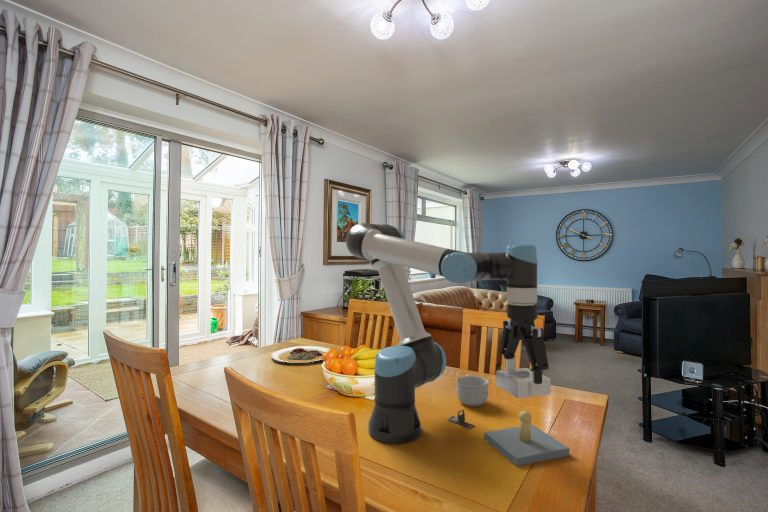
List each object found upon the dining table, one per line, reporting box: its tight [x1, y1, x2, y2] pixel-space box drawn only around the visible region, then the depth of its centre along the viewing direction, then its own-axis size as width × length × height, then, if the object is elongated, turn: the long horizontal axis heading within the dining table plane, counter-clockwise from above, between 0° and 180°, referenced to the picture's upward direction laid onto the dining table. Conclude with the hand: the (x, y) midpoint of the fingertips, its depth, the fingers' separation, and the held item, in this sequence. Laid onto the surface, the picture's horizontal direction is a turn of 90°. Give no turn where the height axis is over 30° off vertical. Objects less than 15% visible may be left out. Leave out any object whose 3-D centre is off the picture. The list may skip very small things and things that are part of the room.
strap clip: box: [447, 409, 476, 430], centre depth 116 cm, size 8×3×4 cm, turn 42°
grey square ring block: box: [495, 367, 552, 399], centre depth 100 cm, size 10×10×4 cm
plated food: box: [271, 345, 331, 364], centre depth 189 cm, size 30×30×3 cm
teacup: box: [455, 374, 489, 408], centre depth 133 cm, size 14×11×8 cm
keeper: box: [483, 410, 570, 467], centre depth 101 cm, size 16×14×10 cm
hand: (522, 388), depth 100 cm, fingers closed on grey square ring block, 10 cm apart
